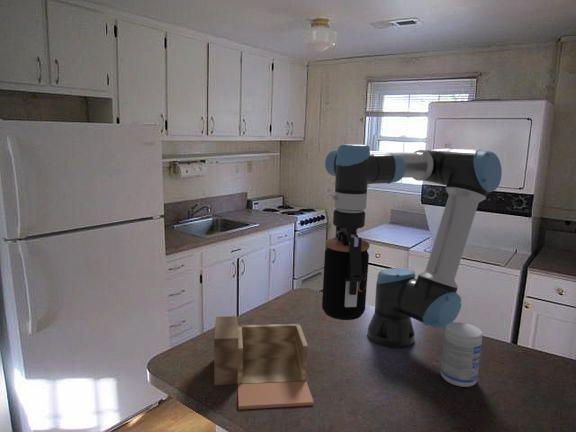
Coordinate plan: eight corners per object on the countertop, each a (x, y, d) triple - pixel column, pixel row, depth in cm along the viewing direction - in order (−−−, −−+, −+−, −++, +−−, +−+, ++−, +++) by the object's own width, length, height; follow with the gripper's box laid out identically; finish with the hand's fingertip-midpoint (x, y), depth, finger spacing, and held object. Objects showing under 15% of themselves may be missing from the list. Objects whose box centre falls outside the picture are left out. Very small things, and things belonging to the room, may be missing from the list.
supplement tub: (478, 391, 113) (485, 340, 110) (440, 384, 115) (446, 334, 112) (474, 372, 122) (480, 324, 119) (439, 366, 124) (444, 319, 122)
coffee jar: (364, 323, 100) (369, 250, 97) (319, 318, 102) (322, 246, 99) (365, 306, 110) (370, 239, 107) (324, 301, 112) (327, 235, 109)
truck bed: (298, 358, 126) (300, 314, 123) (305, 384, 113) (308, 335, 110) (215, 362, 122) (215, 316, 119) (213, 389, 110) (213, 338, 107)
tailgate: (306, 381, 112) (313, 402, 103) (306, 384, 112) (313, 405, 103) (237, 384, 110) (238, 406, 100) (237, 388, 110) (238, 410, 100)
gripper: (323, 201, 112) (319, 281, 116) (347, 219, 90) (341, 317, 94) (351, 202, 113) (346, 280, 117) (381, 219, 91) (374, 316, 95)
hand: (344, 297), depth 106 cm, fingers closed on coffee jar, 11 cm apart
